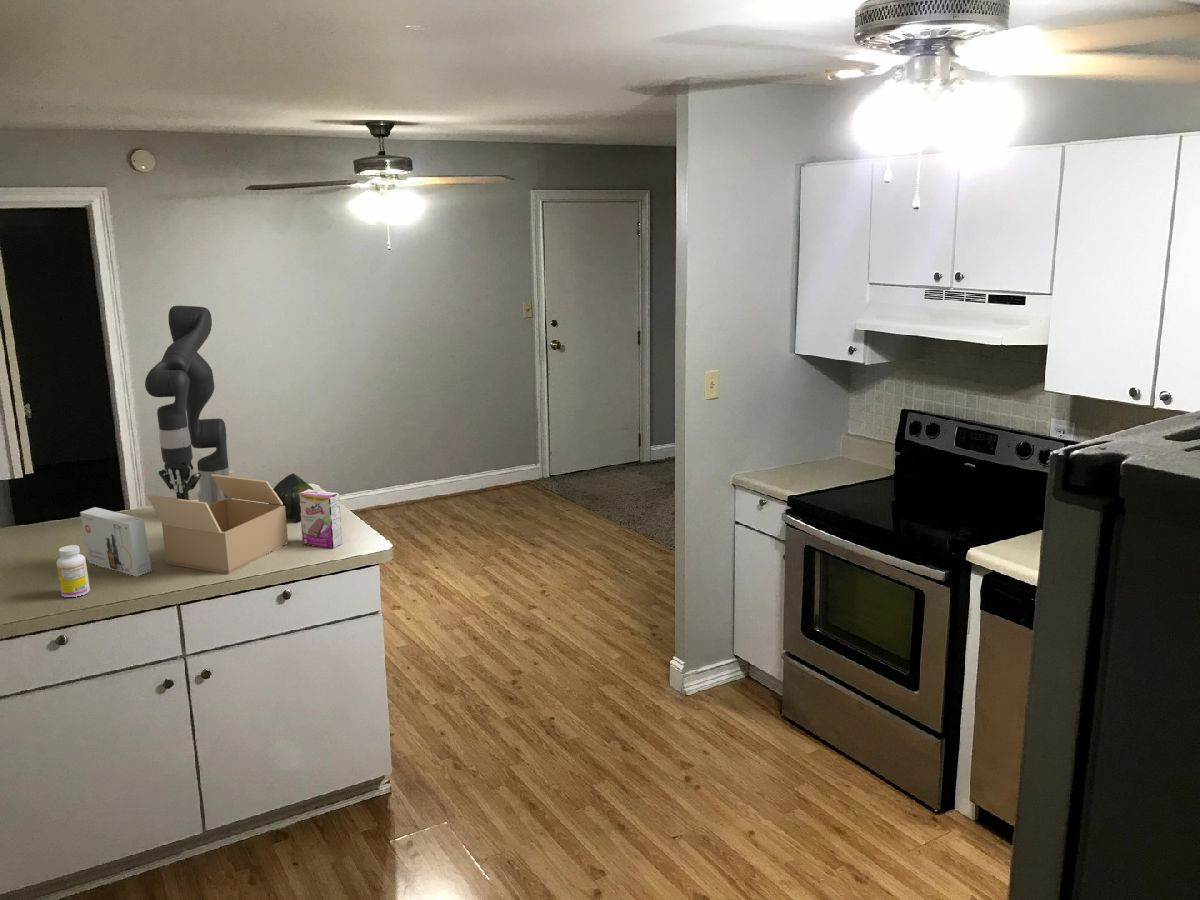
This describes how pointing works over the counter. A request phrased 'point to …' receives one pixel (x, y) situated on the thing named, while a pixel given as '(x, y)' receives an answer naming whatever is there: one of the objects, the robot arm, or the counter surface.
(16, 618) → the counter surface
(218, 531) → the front flap
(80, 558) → the supplement bottle
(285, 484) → the squash
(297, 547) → the counter surface
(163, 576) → the counter surface
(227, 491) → the back flap
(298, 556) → the counter surface
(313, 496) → the candy bar box
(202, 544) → the carton
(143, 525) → the skincare box
